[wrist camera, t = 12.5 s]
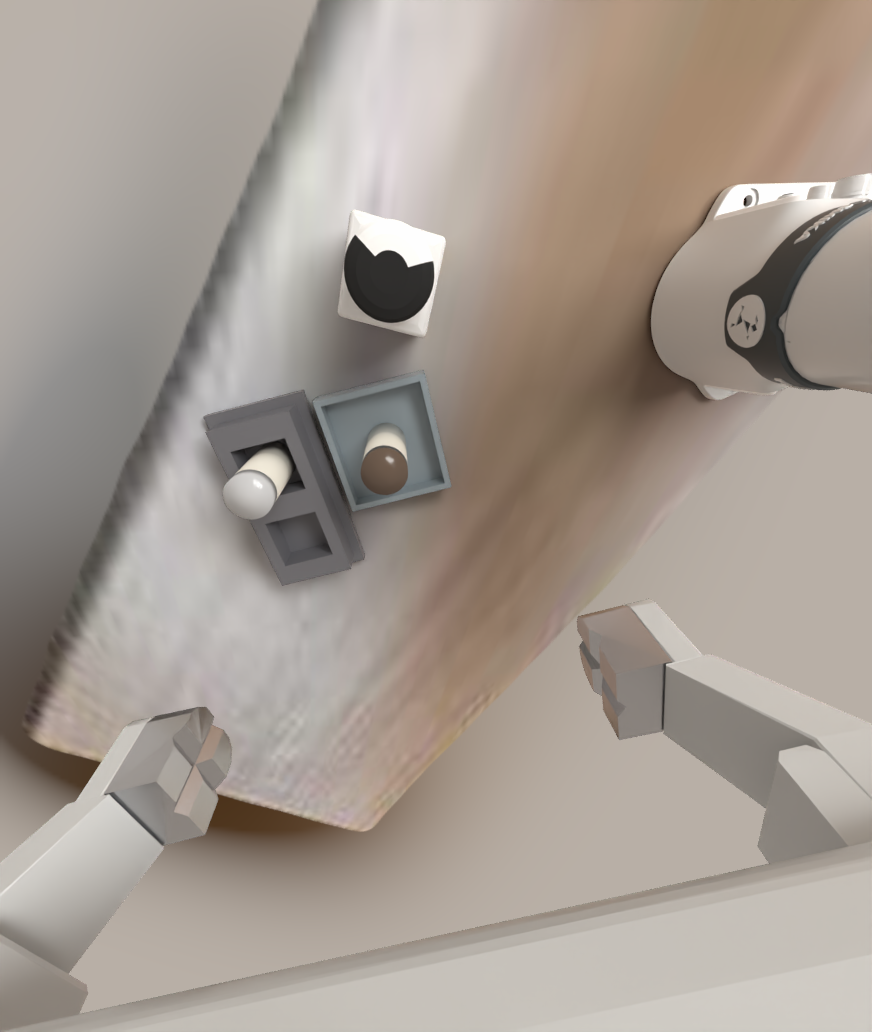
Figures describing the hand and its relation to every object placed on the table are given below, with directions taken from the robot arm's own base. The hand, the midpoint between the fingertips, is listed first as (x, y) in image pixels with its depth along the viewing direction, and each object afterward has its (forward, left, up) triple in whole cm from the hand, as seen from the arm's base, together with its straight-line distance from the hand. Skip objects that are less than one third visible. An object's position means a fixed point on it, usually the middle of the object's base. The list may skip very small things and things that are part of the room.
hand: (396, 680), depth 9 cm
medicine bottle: (-2, -9, -37) cm, 38 cm away
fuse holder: (+14, +8, -37) cm, 40 cm away
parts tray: (+2, +5, -37) cm, 38 cm away
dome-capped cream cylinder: (+14, +4, -36) cm, 39 cm away
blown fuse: (+2, +5, -36) cm, 37 cm away
